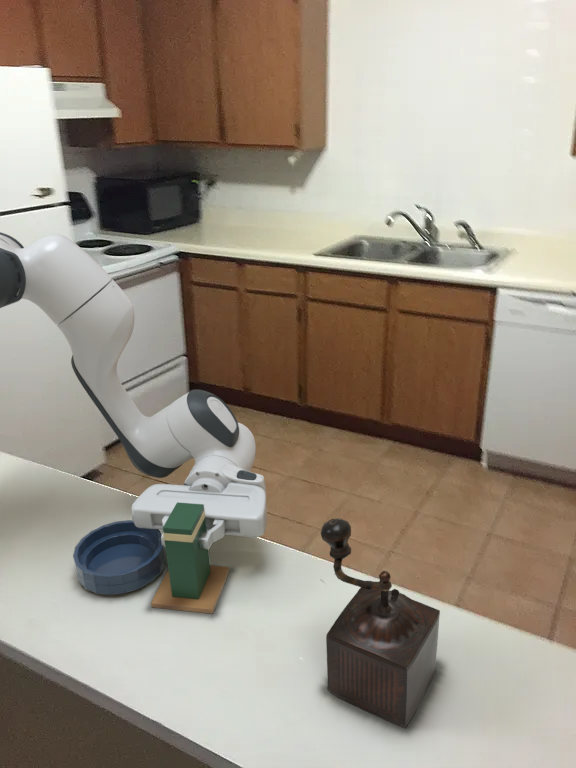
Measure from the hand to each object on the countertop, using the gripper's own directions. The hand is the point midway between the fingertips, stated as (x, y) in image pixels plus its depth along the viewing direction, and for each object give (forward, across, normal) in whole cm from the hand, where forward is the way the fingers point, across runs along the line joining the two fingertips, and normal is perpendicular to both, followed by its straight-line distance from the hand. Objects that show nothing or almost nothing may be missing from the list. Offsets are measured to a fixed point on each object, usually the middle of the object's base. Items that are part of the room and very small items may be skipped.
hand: (184, 543), depth 93 cm
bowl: (-4, -12, +9) cm, 15 cm away
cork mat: (-1, 0, +9) cm, 9 cm away
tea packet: (-1, 0, +8) cm, 8 cm away
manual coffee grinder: (+10, +26, +9) cm, 29 cm away
